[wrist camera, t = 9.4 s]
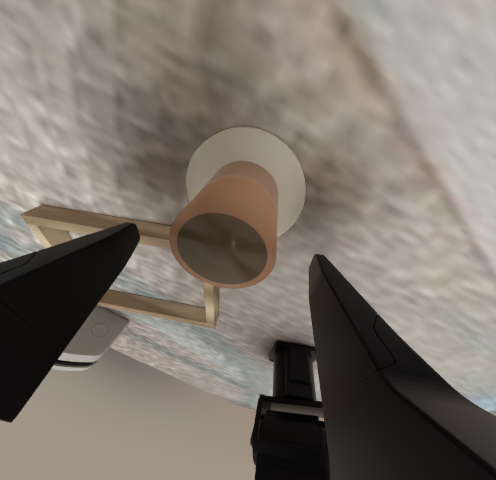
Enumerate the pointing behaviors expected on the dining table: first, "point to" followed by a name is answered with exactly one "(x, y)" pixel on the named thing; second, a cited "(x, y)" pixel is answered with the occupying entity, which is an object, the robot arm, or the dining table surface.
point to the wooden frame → (62, 220)
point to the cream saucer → (259, 152)
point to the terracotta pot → (229, 228)
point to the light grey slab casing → (91, 340)
